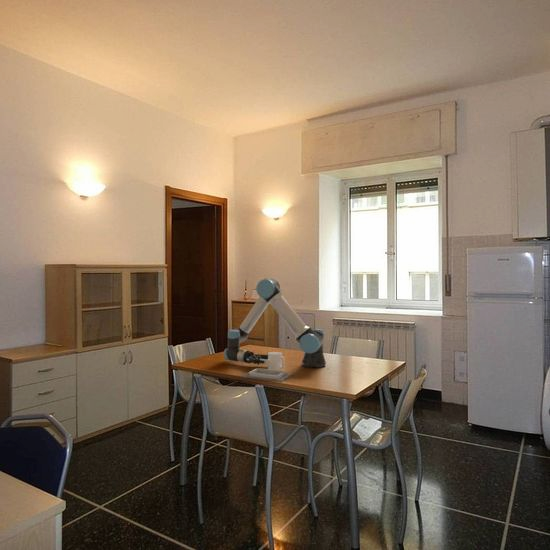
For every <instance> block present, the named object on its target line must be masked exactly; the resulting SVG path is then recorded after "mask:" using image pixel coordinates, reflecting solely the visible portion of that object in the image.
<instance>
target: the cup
mask: <svg viewBox="0 0 550 550" xmlns="http://www.w3.org/2000/svg"><path fill="white" fill-rule="evenodd" d="M267 355H268V360H270V365H267V369H272V370H282V369H284V368H285V367H286V359H285V357H284V356H283V353H282V352H280V351H270V352H268V353H267Z"/></svg>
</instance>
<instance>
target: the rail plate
mask: <svg viewBox="0 0 550 550" xmlns="http://www.w3.org/2000/svg"><path fill="white" fill-rule="evenodd" d="M292 376H293V373H290V372H289V373H288V372H287V370H282V369H281V370H272V369H268V368H263V367H261V368H260V367H257V368H255V369H253V370H251V371H249V372H246V373H244V374H242V375H240V378H244V379H251V380H260V381H268V380H269V381H271V382H280V383H283V382H284V381H286V380H287V379H289V378H290V377H292ZM269 381H268V382H269Z"/></svg>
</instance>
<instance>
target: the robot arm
mask: <svg viewBox="0 0 550 550" xmlns="http://www.w3.org/2000/svg"><path fill="white" fill-rule="evenodd" d="M255 291H256V294H257V295H258V296H259V297H258V298H257V299H256V301H255V303H254V305H253V306H252V308H251V309H250V311H249V312H248V314H247V315H246V317H245V318H244V320H243V321H242V323H241V324H240V325H239V327H238V329H229V330H228V332H227V348H224V351H223V358H224V359H225V360H226V361H229V362H237V363H241V364H243V363H246V364H254V365H258V366H259V365H267V366H268V365H270V360H268V354H267V353H266V354H263V353H262V354H261V353H257V354H255V352H254V351H252V350H246V349H240V344H241V343H244V342H245V341H246V340H247V339H248V336H249V334H250V332H251V331H252V330H253V328H254V327H255V325H256V323H257V322H258V320H259V319H260V318H261V316H262V314H263V313H264V311H265V310H266V309H267V307H268V305H271V306H272V307H273V308H274V310H275V311H276V312H277V314H278V315H279V316H280V317H281V318H282V320H283V321H284V322H285V324H286V325H287V326H288V327H289V329H290V330H291V332H293V334H294V335H295V338H294V339H295V340H296V342H297V343H298V345H299V348H300V349H301V351H303V352H304V353H303V357H302V360H301V366H302V365H303V366H302V367H305V366H306V367H305V368H312V367H320V368H324V367H323V366H325V365H326V366H327V362H326V358H325V355H324V336H325V334H324V330H323V329H318V328H316V329H315V328H312V327H311V326H308V325H306V323H305V322H304V321H303V320H302V319H301V317H300V316H299V315H298V313H297V312H296V311H295V310H294V309H293V307H292V306H291V305H290V304H289V302H288V301H287V300H286V299H285V297H284V296H283V291H282V290H281V287H280V283H279V281H278V280H276V279H275V278H262V279H261V280H259V281H258V283H257V285H256V288H255ZM326 366H325V367H326Z"/></svg>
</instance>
